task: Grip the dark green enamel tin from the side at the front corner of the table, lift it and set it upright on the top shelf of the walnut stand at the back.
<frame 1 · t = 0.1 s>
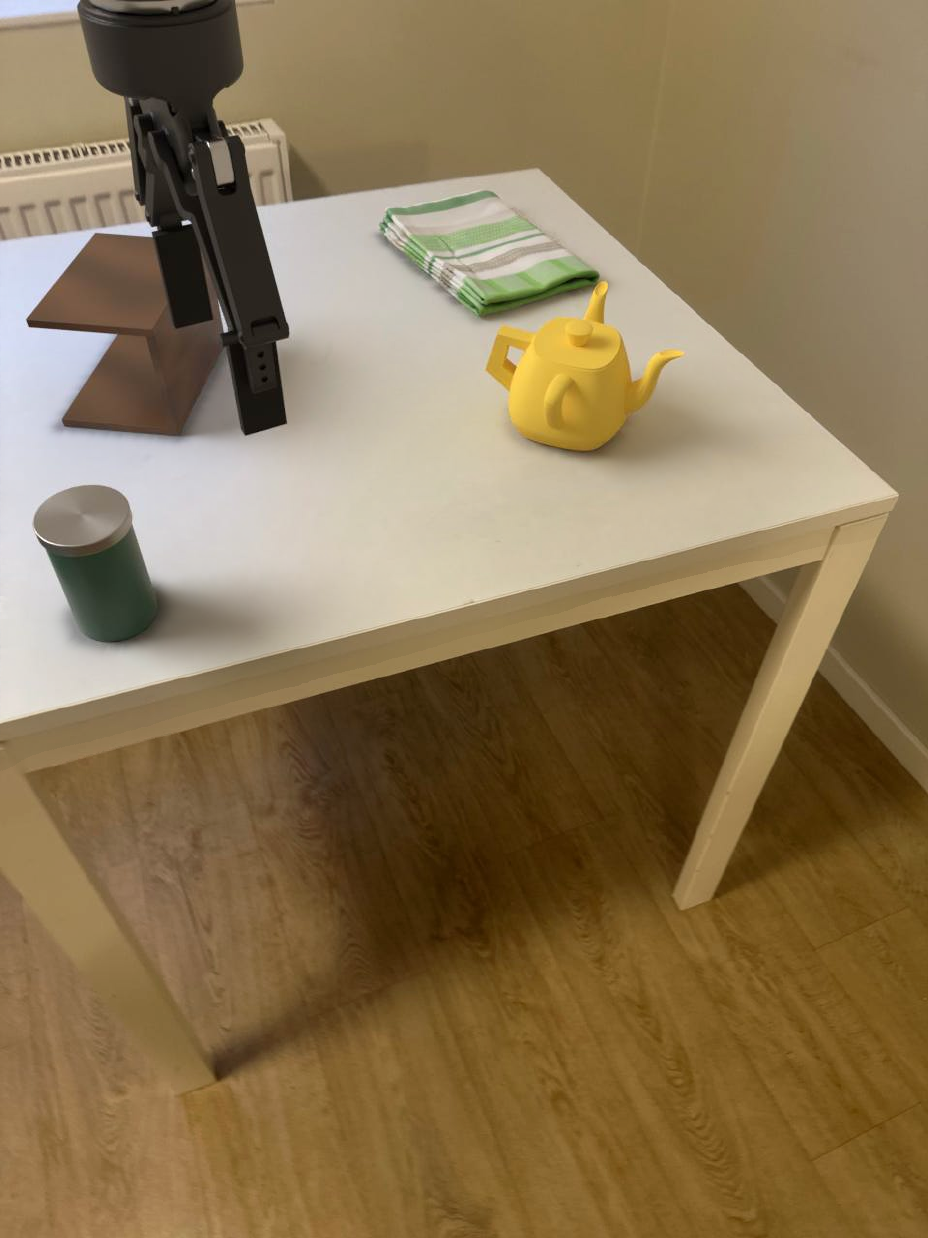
hand: (226, 371, 61), 19 cm above the table, tool pointing down, fingers open, 13 cm apart
tin: (117, 612, 71), on the table
dish towel: (486, 261, 111), on the table
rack: (149, 382, 92), on the table
teapot: (574, 418, 90), on the table
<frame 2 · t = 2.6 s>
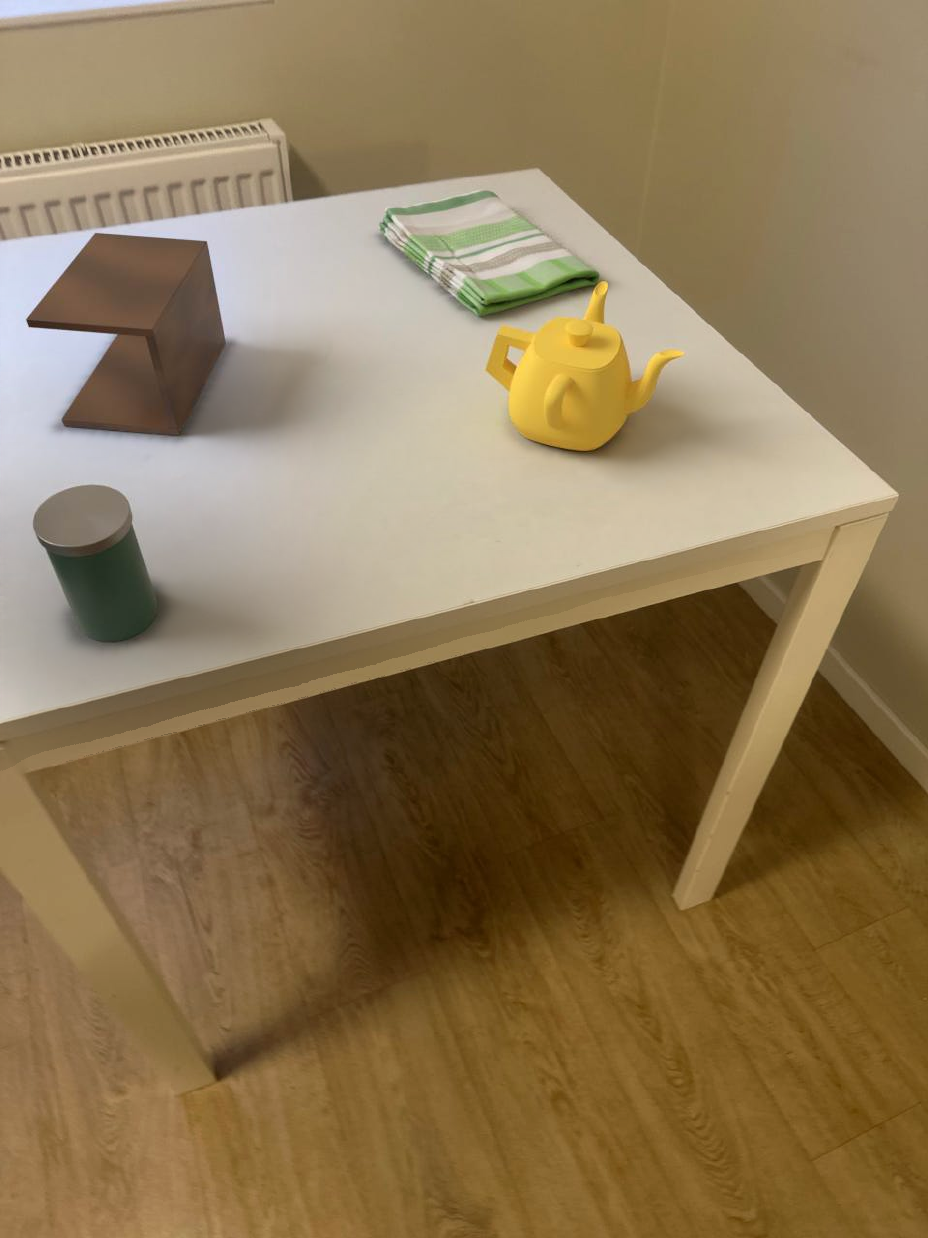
nothing on the table moved.
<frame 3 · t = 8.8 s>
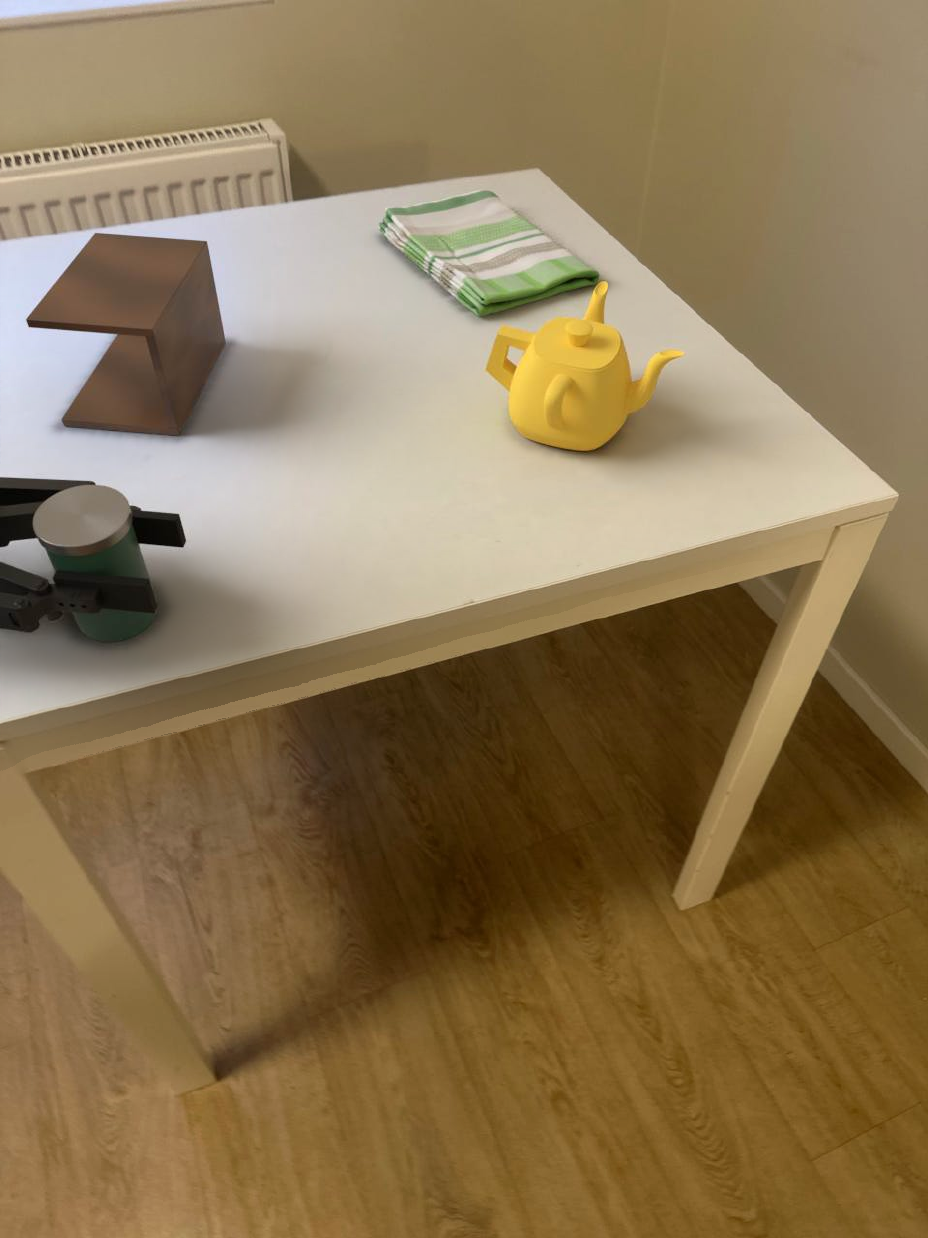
hand: (166, 562, 67), 6 cm above the table, tool horizontal, fingers closed on tin, 6 cm apart
tin: (117, 612, 71), on the table, touching gripper
everything else where it was.
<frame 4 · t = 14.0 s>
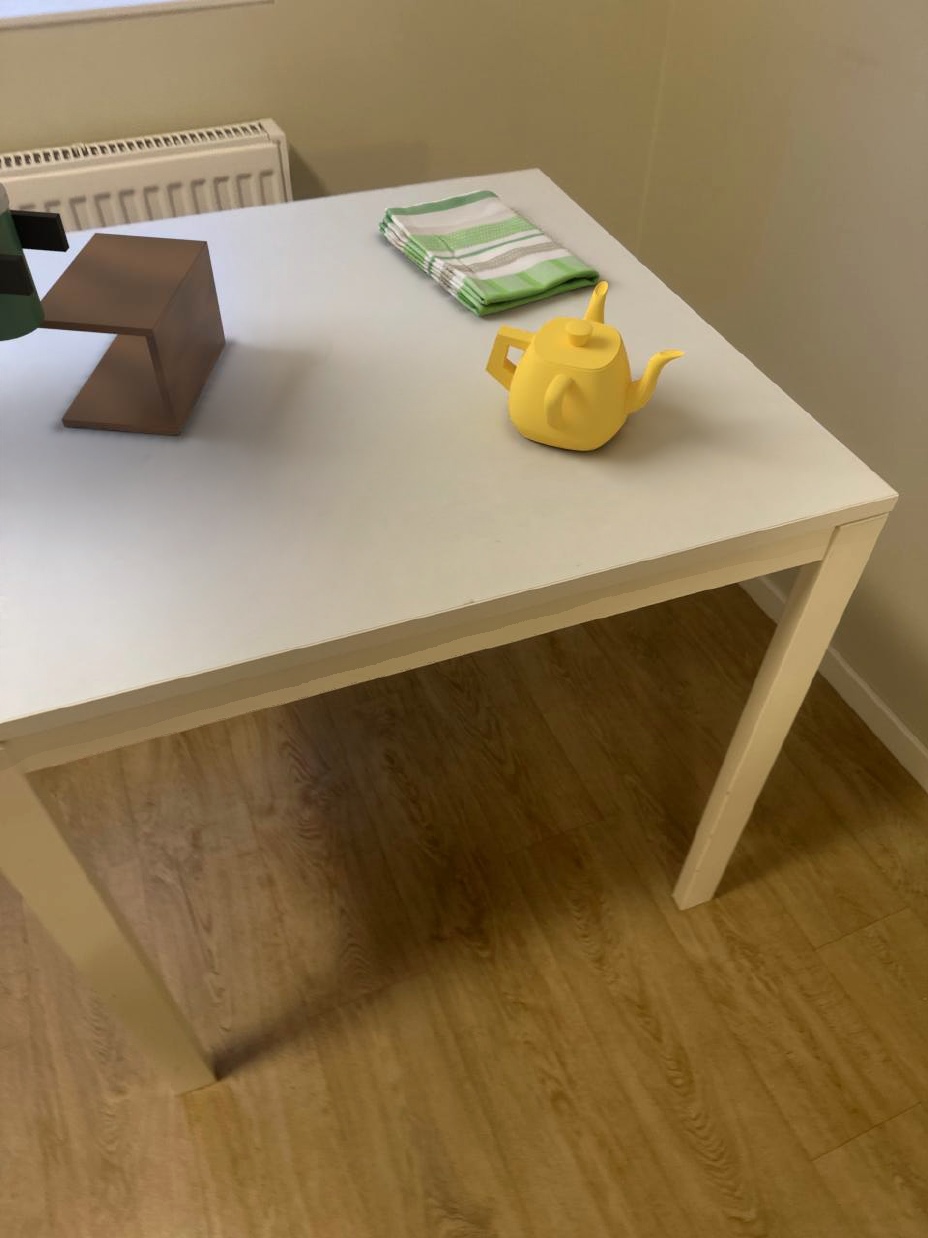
hand: (44, 253, 69), 19 cm above the table, tool horizontal, fingers closed on tin, 6 cm apart
tin: (5, 321, 74), point 13 cm above the table, touching gripper
everything else where it was.
when the fingers open (17 cm above the table, at t = 19.5 s): tin stays where it is, resting on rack.
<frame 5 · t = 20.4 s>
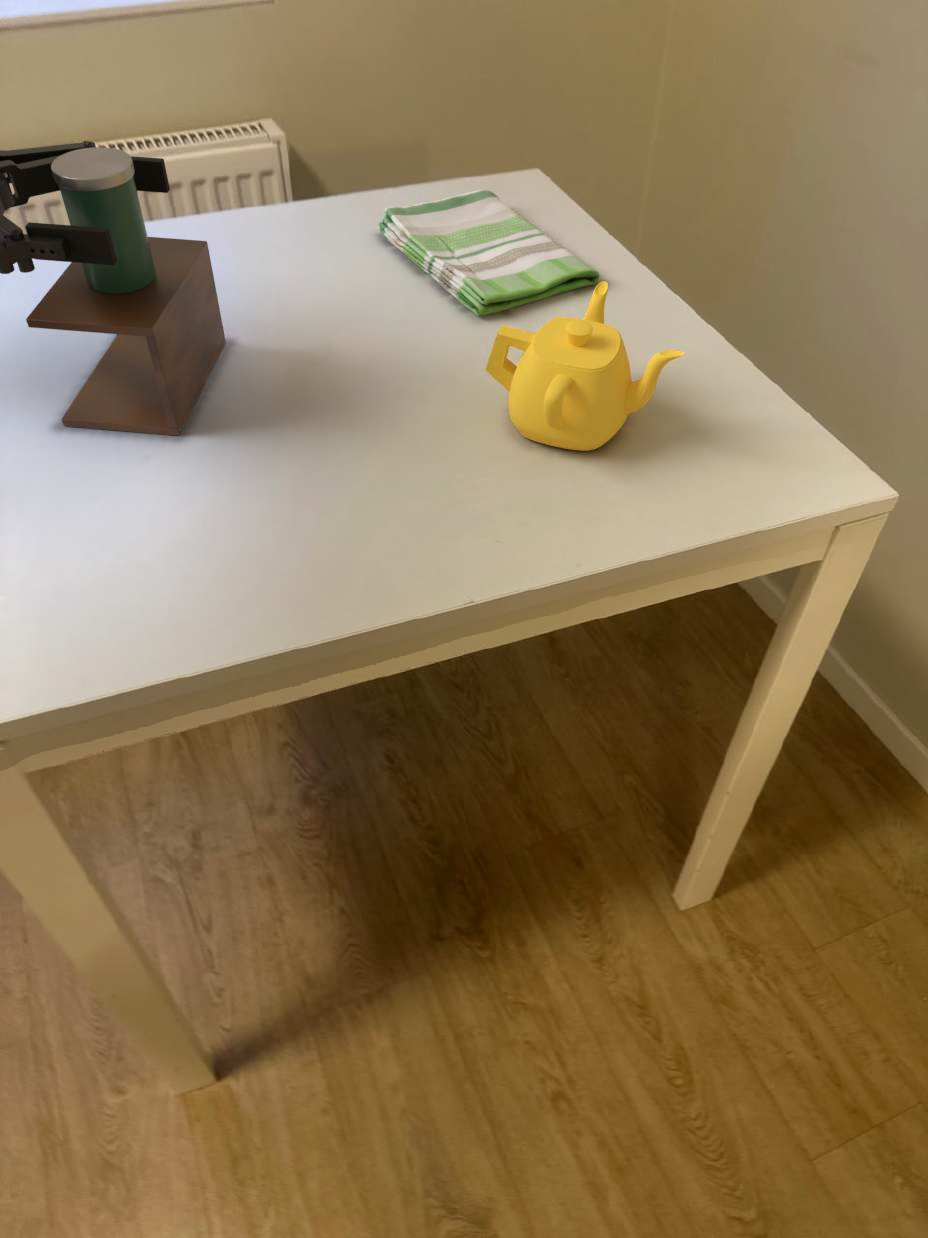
hand: (140, 209, 79), 17 cm above the table, tool horizontal, fingers open, 13 cm apart
tin: (121, 277, 84), point 11 cm above the table, touching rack
everything else where it was.
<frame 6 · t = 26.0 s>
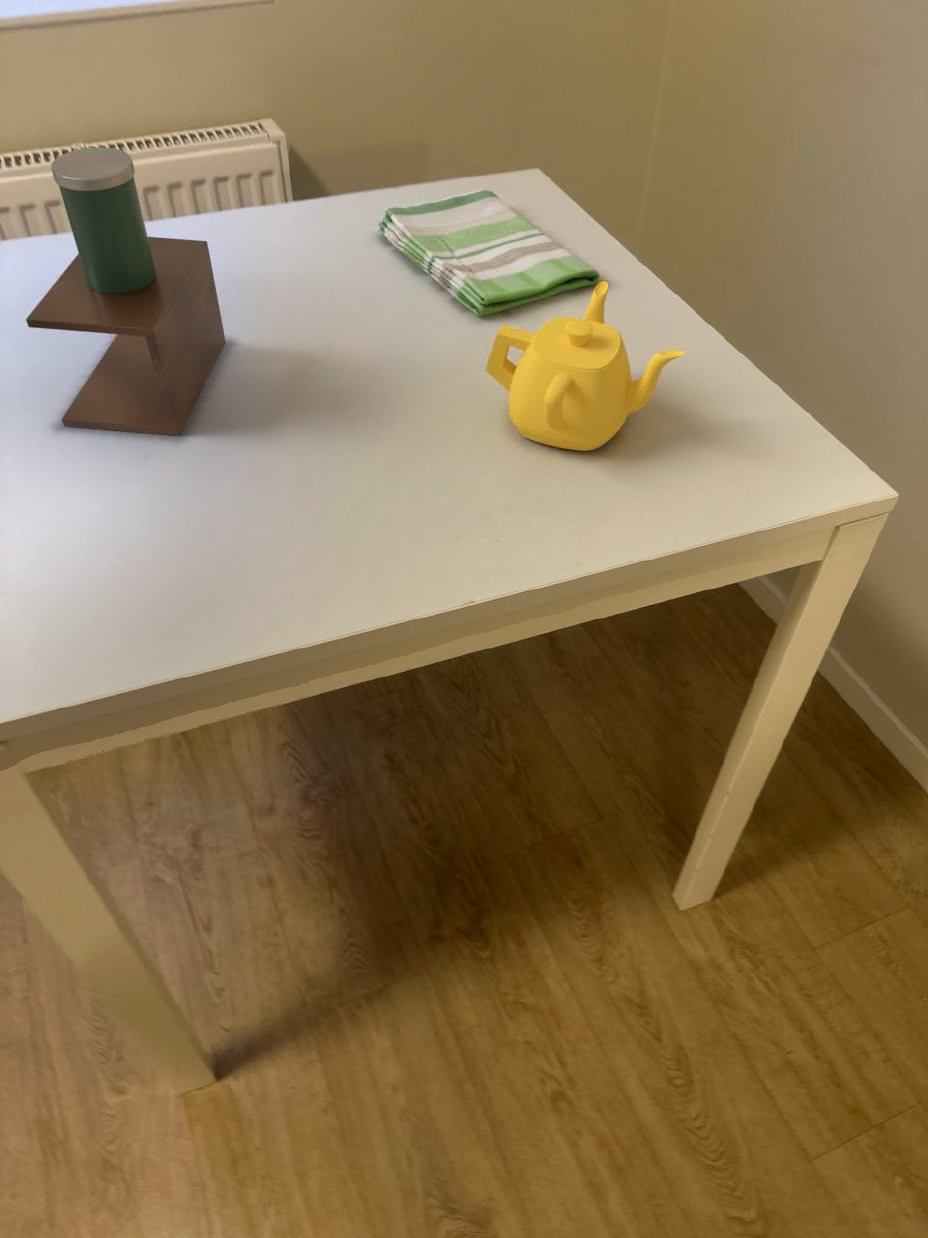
nothing on the table moved.
at the end: tin inside the target area on the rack (0.0 cm from its centre), point 11.0 cm above the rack's base; tin tilted 0°; the gripper is holding nothing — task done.
